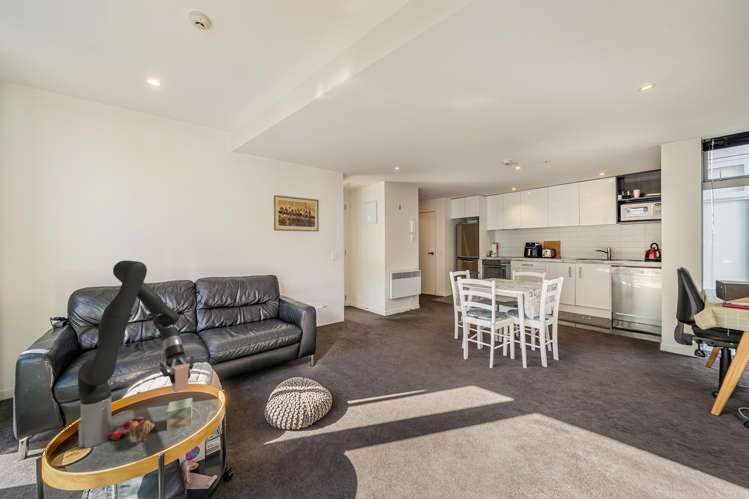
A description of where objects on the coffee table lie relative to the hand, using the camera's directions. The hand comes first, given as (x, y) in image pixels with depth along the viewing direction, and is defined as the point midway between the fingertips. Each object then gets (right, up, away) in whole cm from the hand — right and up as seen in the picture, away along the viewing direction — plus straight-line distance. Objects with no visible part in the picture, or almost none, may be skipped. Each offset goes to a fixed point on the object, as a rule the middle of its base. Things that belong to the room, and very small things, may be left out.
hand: (181, 380), depth 133 cm
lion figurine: (-10, -20, -11) cm, 25 cm away
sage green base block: (-1, -20, +1) cm, 20 cm away
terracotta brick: (-1, -4, +1) cm, 5 cm away
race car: (-19, -20, -6) cm, 28 cm away
